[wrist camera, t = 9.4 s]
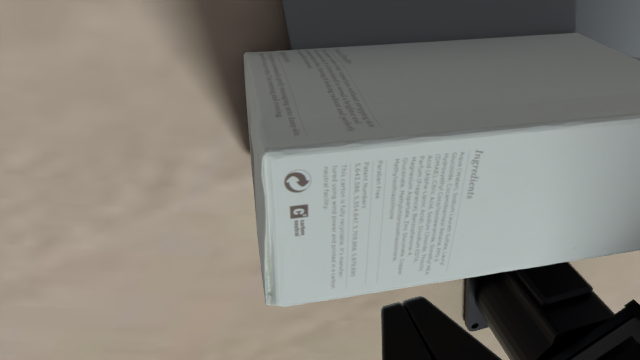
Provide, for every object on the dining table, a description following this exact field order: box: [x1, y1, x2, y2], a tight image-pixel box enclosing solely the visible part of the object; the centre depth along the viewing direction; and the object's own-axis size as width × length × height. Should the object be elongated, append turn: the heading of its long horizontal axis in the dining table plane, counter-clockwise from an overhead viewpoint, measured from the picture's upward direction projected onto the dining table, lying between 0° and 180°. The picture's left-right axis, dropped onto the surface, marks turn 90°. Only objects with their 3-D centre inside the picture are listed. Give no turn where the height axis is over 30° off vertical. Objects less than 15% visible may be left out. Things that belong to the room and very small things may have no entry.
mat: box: [281, 0, 640, 57], centre depth 21 cm, size 16×18×1 cm
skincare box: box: [244, 33, 640, 307], centre depth 17 cm, size 8×6×15 cm
